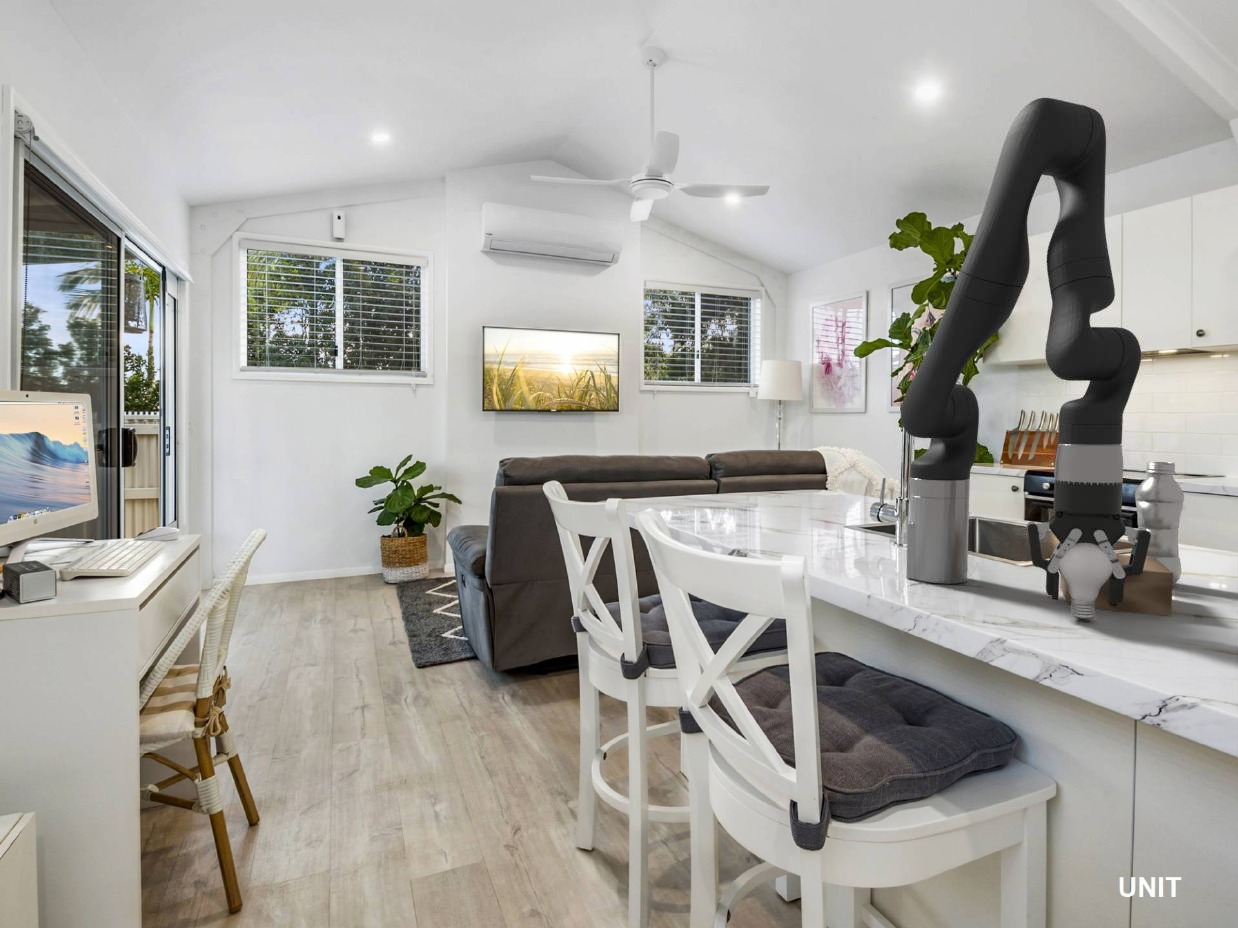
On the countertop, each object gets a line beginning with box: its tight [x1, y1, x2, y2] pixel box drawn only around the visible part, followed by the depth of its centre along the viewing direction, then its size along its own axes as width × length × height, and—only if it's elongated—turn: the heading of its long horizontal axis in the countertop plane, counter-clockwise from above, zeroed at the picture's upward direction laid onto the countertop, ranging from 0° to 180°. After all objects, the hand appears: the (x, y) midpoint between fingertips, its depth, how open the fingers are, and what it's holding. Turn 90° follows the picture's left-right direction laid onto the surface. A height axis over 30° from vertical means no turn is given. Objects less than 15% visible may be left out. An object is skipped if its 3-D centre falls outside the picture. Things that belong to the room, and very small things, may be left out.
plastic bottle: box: [1134, 461, 1185, 585], centre depth 112 cm, size 6×7×20 cm
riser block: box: [1059, 554, 1174, 617], centre depth 102 cm, size 12×12×6 cm
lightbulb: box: [1058, 543, 1113, 622], centre depth 92 cm, size 6×6×11 cm
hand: (1083, 601), depth 92 cm, fingers closed on lightbulb, 6 cm apart
